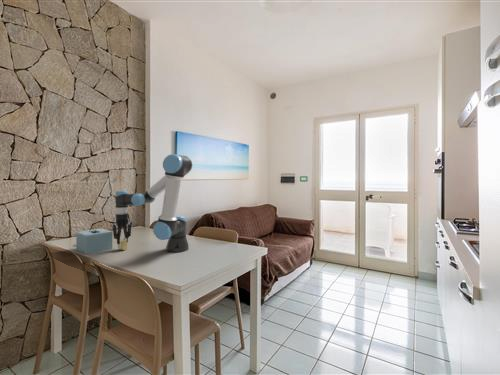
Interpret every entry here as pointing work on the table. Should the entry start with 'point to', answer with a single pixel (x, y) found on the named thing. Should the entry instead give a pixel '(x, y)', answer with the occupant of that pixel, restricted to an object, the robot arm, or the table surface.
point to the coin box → (93, 240)
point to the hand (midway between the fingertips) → (122, 247)
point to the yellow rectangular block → (123, 244)
